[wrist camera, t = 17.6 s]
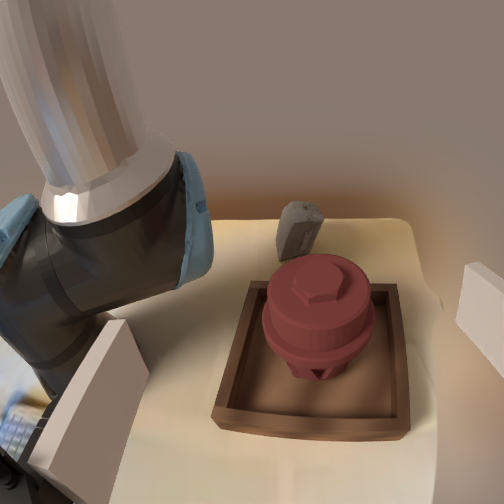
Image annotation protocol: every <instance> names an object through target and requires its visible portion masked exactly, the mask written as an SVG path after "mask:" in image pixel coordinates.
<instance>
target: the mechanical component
mask: <svg viewBox="0 0 504 504" xmlns="http://www.w3.org/2000/svg"><path fill="white" fill-rule="evenodd" d="M370 294H371V287H370V283H369V280H368V278H367V276H366V274H365V273H364V272H363V270H362V269H361V268H360V267H359V266H357V265H356V264H354V263H353V262H351V261H349V260H348V259H345V258H342V257H339V256H336V255H330V254H310V255H305V256H301V257H298V258H295V259H293V260H290V261H289V262H287V263H285V264H284V265H282V266H281V267H280V268H279V269H278V270H277V271H276V272H275V273H274V274H273V276H272V277H271V279H270V281H269V284H268V288H267V296H268V299H267V301H266V303H265V305H264V308H263V312H262V324H263V329H264V334H265V337H266V340H267V342H268V344H269V346H270V347H271V348H272V350H273V351H274V352H275V353H276V354H277V355H278V356H279V357H281V358H282V359H283V360H285V361H286V363H287V365H288V367H289V368H290V370H291V374H292V375H293V376H294V377H296V378H304V379H307V380H313V381H322V380H327V379H330V378H333V377H335V376H337V375H338V374H340V373H342V372H344V371H345V370H346V368H347V365H348V364H349V362H350V361H351V360H352V359H353V358H355V357H356V356H358V355H359V354H360V353H361V352H362V351H363V350H364V348H365V347H366V346H367V344H368V342H369V341H370V339H371V336H372V333H373V329H374V324H375V308H374V305H373V302H372V300H371V298H370Z"/></svg>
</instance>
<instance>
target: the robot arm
mask: <svg viewBox="0 0 504 504" xmlns="http://www.w3.org/2000/svg"><path fill="white" fill-rule="evenodd" d="M0 78H1V80H2V83H3V86H4V88H5V91H6V94H7V96H8V99H9V101H10V104H11V106H12V108H13V111H14V113H15V116H16V118H17V120H18V122H19V125H20V127H21V129H22V131H23V134H24V136H25V138H26V140H27V142H28V144H29V146H30V148H31V150H32V152H33V154H34V156H35V158H36V160H37V162H38V164H39V166H40V168H41V170H42V172H43V173H44V176H45V177H46V184H45V187H44V191H43V194H42V198H41V207H40V206H39V201H38V200H37V199H36V198H35V197H34V196H33V195H32V194H26V195H23V196H20V197H19V198H17V199H15V200H14V201H12V202H11V203H10V204H8V205H7V206H6V207H5V208H4V209H2V210H1V211H0V336H1V337H2V338H3V339H4V340H5V341H6V342H7V343H8V344H9V345H10V346H11V347H12V348H13V349H14V350H15V351H16V352H17V353H18V354H19V355H20V356H21V357H22V358H23V359H24V360H25V361H26V362H27V363H28V364H29V365H30V366H31V367H32V369H33V370H34V372H35V374H36V376H37V378H38V380H39V381H40V383H41V385H42V387H43V388H44V390H45V392H46V393H47V395H48V396H49V398H50V399H51V400H52V402H51V403H50V404H49V405H48V406H47V408H46V410H45V411H44V413H43V415H42V419H40V420H39V422H38V424H37V428H35V429H34V431H33V433H32V435H31V437H30V439H29V441H28V442H27V444H26V446H25V448H24V450H23V452H22V454H21V456H20V458H19V460H18V461H17V462H16V461H14V460H13V459H12V458H11V457H10V456H9V454H8V453H7V452H6V451H5V450H4V449H3V448H2V447H1V446H0V504H73V503H75V504H109V500H110V497H111V493H112V489H113V486H114V482H115V479H116V475H117V472H118V469H119V465H120V462H121V459H122V455H123V452H124V449H125V446H126V443H127V439H128V436H129V433H130V430H131V427H132V424H133V421H134V418H135V415H136V412H137V409H138V406H139V403H140V400H141V397H142V394H143V391H144V388H145V386H146V383H147V380H148V377H149V372H148V369H147V367H146V365H145V363H144V361H143V359H142V356H141V353H140V348H139V345H138V343H137V341H136V339H135V338H134V336H133V335H132V333H131V331H130V328H129V326H128V323H127V321H126V319H119V320H118V319H116V318H115V317H113V316H112V315H110V314H109V313H108V312H106V311H109V310H112V309H115V308H118V307H121V306H124V305H127V304H130V303H133V302H136V301H140V300H143V299H146V298H149V297H152V296H155V295H158V294H161V293H164V292H167V291H170V290H176V289H178V288H180V287H181V286H182V285H183V284H186V283H188V282H190V281H193V280H195V279H198V278H200V277H202V276H204V275H205V274H206V273H207V272H208V271H209V269H210V268H211V265H212V262H213V257H214V243H213V233H212V225H211V219H210V214H209V211H208V208H207V207H206V196H205V190H204V186H203V182H202V179H201V175H200V172H199V169H198V167H197V164H196V162H195V160H194V158H193V157H192V155H191V154H190V153H188V152H177V151H176V152H175V150H174V146H173V143H172V141H171V140H170V139H169V138H168V137H167V136H166V135H164V134H162V133H160V132H158V131H155V130H153V129H150V128H148V127H147V124H146V120H145V117H144V113H143V110H142V106H141V103H140V99H139V96H138V92H137V88H136V84H135V80H134V77H133V73H132V69H131V65H130V61H129V57H128V53H127V48H126V44H125V40H124V36H123V31H122V27H121V22H120V18H119V13H118V9H117V4H116V0H0ZM455 322H456V324H457V325H458V326H459V327H460V328H461V329H462V330H463V331H464V333H465V334H466V335H467V336H468V337H469V338H470V339H471V340H472V342H474V344H475V345H476V346H477V347H478V348H479V349H480V351H481V352H482V353H483V354H484V355H485V357H486V358H487V359H488V360H489V361H490V363H491V364H492V365H493V366H494V367H495V368H496V370H497V371H498V372H499V373H500V375H501V376H502V377H503V378H504V279H502V278H501V277H499V276H498V275H497V274H495V273H494V272H492V271H491V270H490V269H488V268H487V267H485V266H484V265H483V264H481V263H480V262H474V263H470V264H465V270H464V277H463V283H462V290H461V295H460V301H459V306H458V311H457V316H456V320H455Z"/></svg>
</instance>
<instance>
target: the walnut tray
mask: <svg viewBox="0 0 504 504" xmlns="http://www.w3.org/2000/svg"><path fill="white" fill-rule="evenodd" d="M268 284H269V281H251V283H250V286H249V289H248V293H247V296H246V300H245V303H244V307H243V310H242V313H241V317H240V320H239V324H238V327H237V330H236V334H235V337H234V341H233V344H232V347H231V351H230V354H229V357H228V361H227V364H226V368H225V371H224V374H223V378H222V381H221V384H220V388H219V391H218V394H217V398H216V401H215V404H214V408H213V411H212V414H211V418H212V419H213V420H214V422H215V423H216V424H217V425H218V426H219V428H220V429H225V430H230V431H236V432H242V433H249V434H256V435H263V436H271V437H280V438H290V439H302V440H318V441H350V442H362V441H393V440H400V439H401V438H402V437H403V436H404V435H405V434H406V433H407V432H408V431H409V430H410V402H409V383H408V369H407V357H406V347H405V338H404V330H403V322H402V315H401V308H400V302H399V295H398V289H397V284H370V287H371V294H370V298H371V300H372V302H373V305H374V308H375V324H374V329H373V333H372V336H371V339H370V341H369V342H368V344H367V346H366V347H365V348H364V350H363V351H362V352H361V353H360V354H359V355H358V356H356V357H355V358H353V359H352V360H351V361H350V362H349V364H348V365H347V368H346V370H345V371H344V372H342V373H340V374H338V375H337V376H335V377H333V378H330V379H327V380H322V381H313V380H307V379H304V378H296V377H294V376H293V375H292V374H291V370H290V368H289V367H288V365H287V363H286V361H285V360H283V359H282V358H281V357H279V356H278V355H277V354H276V353H275V352H274V351H273V350H272V348H271V347H270V346H269V344H268V342H267V340H266V337H265V334H264V329H263V324H262V312H263V308H264V305H265V303H266V301H267V299H268V296H267V288H268Z"/></svg>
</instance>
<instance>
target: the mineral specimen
mask: <svg viewBox="0 0 504 504" xmlns="http://www.w3.org/2000/svg"><path fill="white" fill-rule="evenodd" d="M323 221H324V217H323V215H322V213H321V212H320V210H319V207H318V206H316V205H314V204H312V203H306V202H291V203H290V204H289V205H288V206H286V207H285V208H284V209H283V211H282V216H281V218H280V221H279V226H278V230H277V236H276V246H277V252H278V257H279V261H282V260H285V259H288V258H293V257H296V256H299V255H303V254H307V253H309V252H310V250H311V248H312V245H313V243H314V240H315V238H316V236H317V234H318V231H319V229H320V227H321V224H322V223H323Z"/></svg>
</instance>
